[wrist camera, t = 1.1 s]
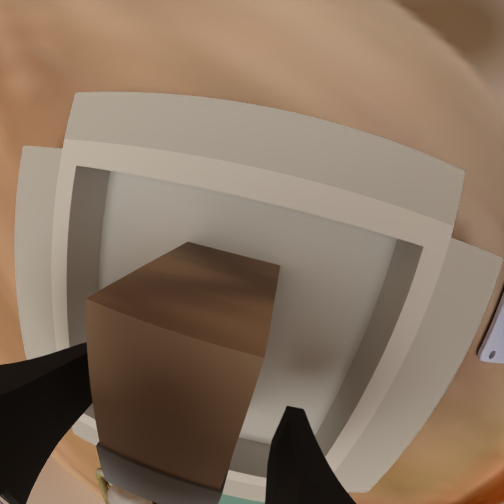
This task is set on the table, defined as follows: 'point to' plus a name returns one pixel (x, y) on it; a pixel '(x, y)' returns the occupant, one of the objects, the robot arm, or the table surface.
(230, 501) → the mat
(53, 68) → the table surface
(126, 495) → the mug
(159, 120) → the off-white shallow square tray
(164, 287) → the box
